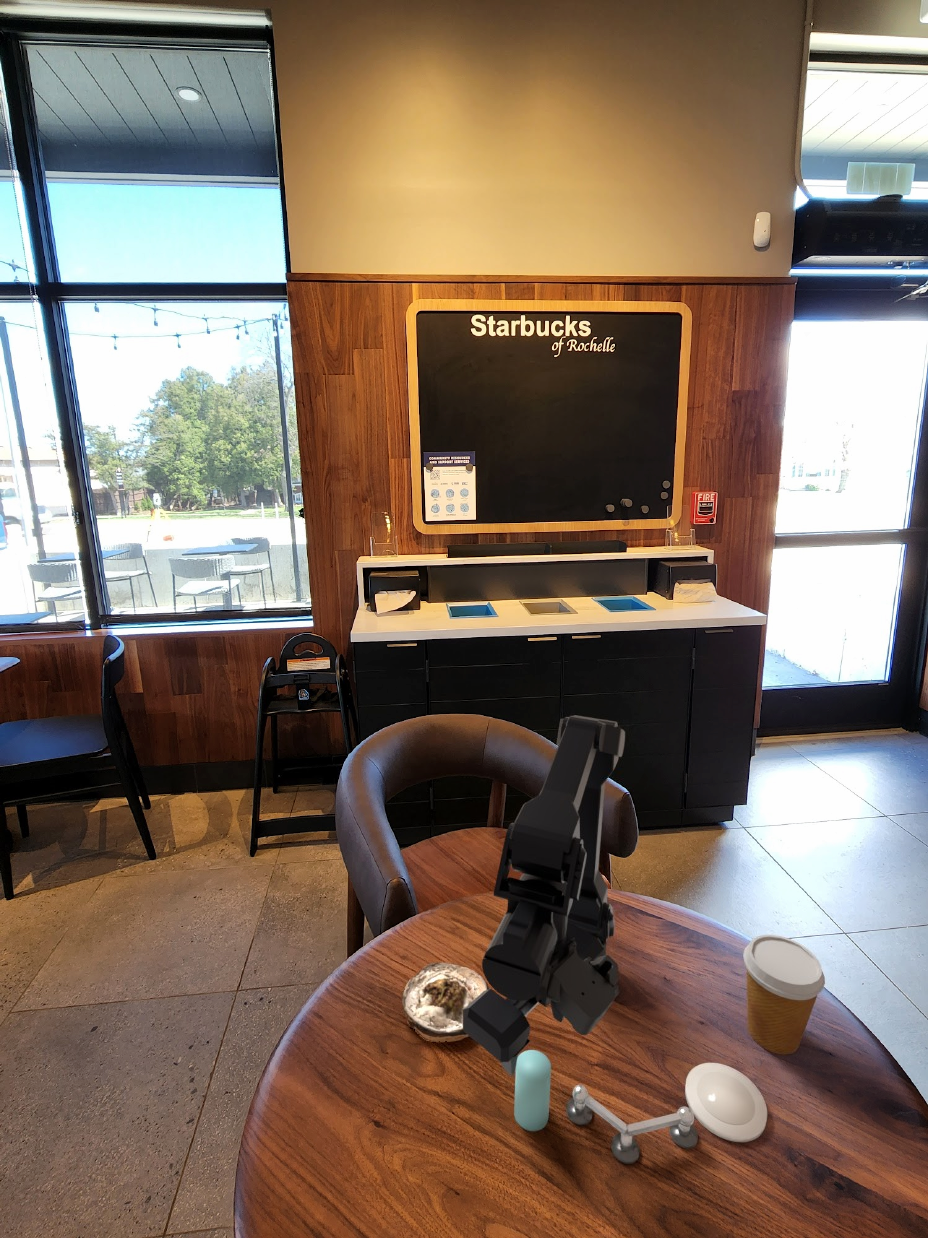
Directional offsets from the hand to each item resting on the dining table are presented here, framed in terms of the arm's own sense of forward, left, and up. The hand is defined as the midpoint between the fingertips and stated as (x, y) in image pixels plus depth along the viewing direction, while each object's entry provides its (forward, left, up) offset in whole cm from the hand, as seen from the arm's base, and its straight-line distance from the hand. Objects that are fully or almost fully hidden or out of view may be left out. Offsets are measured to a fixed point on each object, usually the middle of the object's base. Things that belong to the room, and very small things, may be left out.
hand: (534, 1045), depth 71 cm
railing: (+9, +7, -10) cm, 15 cm away
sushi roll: (-18, +4, -11) cm, 21 cm away
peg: (0, 0, -10) cm, 10 cm away
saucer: (+16, +17, -10) cm, 25 cm away
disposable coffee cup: (+17, +31, -10) cm, 37 cm away
